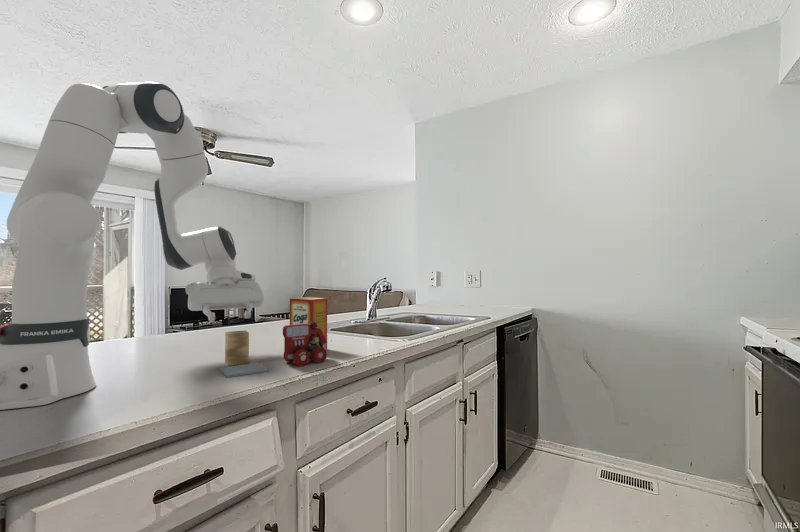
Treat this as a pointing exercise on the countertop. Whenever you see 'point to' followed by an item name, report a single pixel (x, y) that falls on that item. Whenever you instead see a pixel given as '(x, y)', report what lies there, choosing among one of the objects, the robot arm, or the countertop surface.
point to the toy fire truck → (304, 344)
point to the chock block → (236, 347)
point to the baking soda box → (309, 312)
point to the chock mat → (243, 369)
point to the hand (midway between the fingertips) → (230, 318)
